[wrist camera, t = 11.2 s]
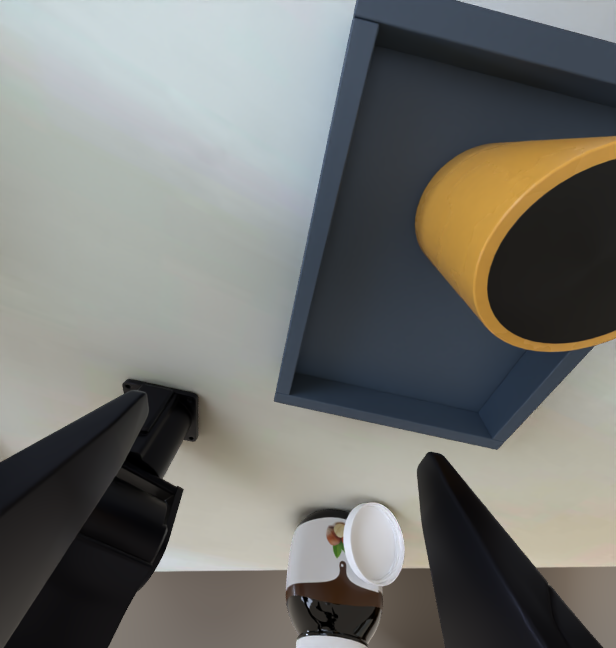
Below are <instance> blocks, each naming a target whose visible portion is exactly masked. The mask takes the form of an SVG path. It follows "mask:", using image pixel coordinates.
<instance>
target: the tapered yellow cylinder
mask: <svg viewBox="0 0 616 648" xmlns="http://www.w3.org/2000/svg"><path fill="white" fill-rule="evenodd" d="M415 233H416V237H417V241H418V244H419V246H420V248H421V250H422V252H423V253H424V254H425V255H426V257H427V258H428V259H429V260H430V261H431V263H432V264H433V265H434V266H435V267H436V269H437V270H438V271H439V272H440V273H441V274H442V276H443V277H444V278H445V279H446V280H447V282H448V283H449V284H450V285H451V286H452V287H453V289H454V290H455V291H456V292H457V293H458V295H459V296H460V297H461V298H462V299H463V301H464V302H465V303H466V304H467V305H468V306H469V308H470V309H471V310H472V311H473V312H474V314H475V315H476V316H477V317H478V318H479V319H480V321H481V322H482V323H483V324H484V325H485V327H486V328H487V329H488V330H489V331H490V332H491V333H492V334H494V335H495V336H496V337H498V338H499V339H501V340H502V341H504V342H506V343H508V344H511V345H513V346H516V347H519V348H523V349H526V350H532V351H540V352H563V351H571V350H578V349H582V348H587V347H591V346H595V345H598V344H601V343H605V342H608V341H610V340H613V339H615V338H616V136H608V137H590V138H571V139H553V140H535V141H516V142H498V143H489V144H483V145H480V146H476V147H473V148H471V149H469V150H466V151H464V152H463V153H461V154H459V155H457V156H456V157H454V158H453V159H452V160H450V161H449V162H448V163H446V164H445V165H444V166H443V167H442V168H441V169H440V170H439V171H438V172H437V173H436V174H435V175H434V177H433V178H432V179H431V181H430V182H429V183H428V185H427V187H426V188H425V190H424V192H423V194H422V196H421V198H420V201H419V204H418V207H417V211H416V216H415Z"/></svg>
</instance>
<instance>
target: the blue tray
mask: <svg viewBox="0 0 616 648" xmlns="http://www.w3.org/2000/svg"><path fill="white" fill-rule="evenodd" d="M608 136H616V43H612V42H609V41H605V40H601V39H597V38H594V37H590V36H586V35H583V34H579V33H575V32H571V31H568V30H564V29H560V28H557V27H553V26H549V25H545V24H542V23H538V22H534V21H531V20H527V19H523V18H519V17H516V16H512V15H508V14H505V13H501V12H497V11H493V10H490V9H486V8H482V7H479V6H475V5H471V4H467V3H464V2H460V1H456V0H356V5H355V10H354V16H353V20H352V25H351V30H350V34H349V39H348V44H347V49H346V54H345V59H344V63H343V68H342V73H341V78H340V83H339V88H338V93H337V97H336V102H335V107H334V112H333V117H332V122H331V126H330V131H329V136H328V141H327V146H326V151H325V156H324V160H323V165H322V170H321V175H320V180H319V185H318V189H317V194H316V199H315V204H314V209H313V214H312V219H311V223H310V228H309V233H308V238H307V243H306V248H305V252H304V257H303V262H302V267H301V272H300V277H299V281H298V286H297V291H296V296H295V301H294V306H293V311H292V315H291V320H290V325H289V330H288V335H287V340H286V344H285V349H284V354H283V359H282V364H281V369H280V374H279V378H278V383H277V388H276V393H275V398H274V402H278V403H283V404H287V405H292V406H297V407H301V408H306V409H311V410H315V411H320V412H325V413H329V414H334V415H338V416H343V417H348V418H352V419H357V420H362V421H366V422H371V423H375V424H380V425H385V426H389V427H394V428H399V429H403V430H408V431H413V432H417V433H422V434H426V435H431V436H436V437H440V438H445V439H450V440H454V441H459V442H463V443H468V444H473V445H477V446H482V447H487V448H491V449H496V450H497V449H498V448H499V447H500V446H501V445H502V444H503V443H504V441H506V440H507V439H508V438H509V437H510V436H511V435H512V434H513V433H514V432H515V430H516V429H517V428H518V427H519V426H520V425H521V424H522V423H523V422H524V421H525V420H526V419H527V418H528V417H529V416H530V414H531V413H532V412H533V411H534V410H535V409H536V408H537V407H538V406H539V405H540V404H541V403H542V402H543V401H544V400H545V398H546V397H547V396H548V395H549V394H550V393H551V392H552V391H553V390H554V389H555V388H556V387H557V386H558V385H559V384H560V383H561V381H562V380H563V379H564V378H565V377H566V376H567V375H568V374H569V373H570V372H571V371H572V370H573V369H574V368H575V367H576V365H577V364H578V363H579V362H580V361H581V360H582V359H583V358H584V357H585V356H586V355H587V354H588V353H589V352H590V351H591V349H592V348H593V347H594V346H591V347H587V348H582V349H578V350H571V351H563V352H540V351H532V350H526V349H523V348H519V347H516V346H513V345H511V344H508V343H506V342H504V341H502V340H501V339H499V338H498V337H496V336H495V335H494V334H492V333H491V332H490V331H489V330H488V329H487V328H486V327H485V325H484V324H483V323H482V322H481V321H480V319H479V318H478V317H477V316H476V315H475V314H474V312H473V311H472V310H471V309H470V308H469V306H468V305H467V304H466V303H465V302H464V301H463V299H462V298H461V297H460V296H459V295H458V293H457V292H456V291H455V290H454V289H453V287H452V286H451V285H450V284H449V283H448V282H447V280H446V279H445V278H444V277H443V276H442V274H441V273H440V272H439V271H438V270H437V269H436V267H435V266H434V265H433V264H432V263H431V261H430V260H429V259H428V258H427V257H426V255H425V254H424V253H423V252H422V250H421V248H420V246H419V244H418V241H417V237H416V233H415V216H416V211H417V207H418V204H419V201H420V198H421V196H422V194H423V192H424V190H425V188H426V187H427V185H428V183H429V182H430V181H431V179H432V178H433V177H434V175H435V174H436V173H437V172H438V171H439V170H440V169H441V168H442V167H443V166H444V165H445V164H446V163H448V162H449V161H450V160H452V159H453V158H454V157H456V156H457V155H459V154H461V153H463V152H464V151H466V150H469V149H471V148H473V147H476V146H480V145H483V144H489V143H498V142H516V141H535V140H553V139H571V138H590V137H608Z"/></svg>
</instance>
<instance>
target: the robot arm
mask: <svg viewBox="0 0 616 648" xmlns="http://www.w3.org/2000/svg"><path fill="white" fill-rule="evenodd" d="M123 391H124V394H123V395H121V396H119V397H118V398H116V399H114V400H112V401H110V402H108V403H107V404H105V405H103V406H101V407H99V408H98V409H96V410H94V411H92V412H90V413H89V414H87V415H85V416H83V417H81V418H80V419H78V420H76V421H74V422H72V423H71V424H69V425H67V426H65V427H63V428H62V429H60V430H58V431H56V432H54V433H53V434H51V435H49V436H47V437H45V438H43V439H42V440H40V441H38V442H36V443H34V444H33V445H31V446H29V447H27V448H25V449H24V450H22V451H20V452H18V453H16V454H15V455H13V456H11V457H9V458H7V459H6V460H4V461H2V462H0V648H108V646H109V644H110V642H111V640H112V638H113V636H114V634H115V632H116V630H117V628H118V626H119V624H120V622H121V620H122V618H123V616H124V614H125V612H126V610H127V608H128V606H129V604H130V603H131V601H132V599H133V597H134V596H135V594H136V592H137V591H139V590H140V589H141V588H142V587H143V586H144V585H145V583H146V582H147V581H148V580H149V578H150V577H151V575H152V574H153V572H154V571H155V569H156V567H157V566H158V564H159V562H160V560H161V558H162V556H163V554H164V552H165V549H166V547H167V544H168V541H169V538H170V535H171V531H172V528H173V524H174V521H175V517H176V514H177V510H178V507H179V504H180V500H181V497H182V493H183V489H182V488H181V487H179V486H177V487H176V486H174V485H172V484H170V483H169V482H167V481H165V480H163V477H164V475H165V473H166V472H167V470H168V468H169V466H170V464H171V462H172V460H173V458H174V456H175V455H176V453H177V451H178V449H179V447H180V445H181V443H182V441H183V440H187V441H192V442H194V441H196V440H197V437H198V396H197V395H196V394H195V393H192V392H187V391H182V390H178V389H173V388H169V387H164V386H159V385H155V384H150V383H145V382H141V381H136V380H131V379H127V380H126V381H125V382H124V383H123ZM417 479H418V490H419V501H420V512H421V521H422V528H423V534H424V539H425V545H426V550H427V555H428V560H429V566H430V571H431V576H432V581H433V587H434V592H435V597H436V602H437V607H438V613H439V618H440V623H441V628H442V633H443V639H444V644H445V648H603V647H602V646H601V645H600V643H599V642H598V641H597V640H596V639H595V638H594V637H593V635H592V634H590V632H589V631H588V630H587V629H586V627H585V626H584V625H583V624H582V623H581V621H580V620H579V619H578V618H577V617H576V616H575V614H574V613H573V612H572V611H571V610H570V608H569V607H568V606H567V605H566V604H565V603H564V601H563V600H562V599H561V598H560V596H559V595H558V594H557V593H556V592H555V591H554V589H553V588H552V587H551V586H550V585H548V582H547V581H546V580H545V578H544V577H543V576H542V575H541V574H540V572H539V571H538V570H537V569H536V567H535V566H534V565H533V564H532V563H531V561H530V560H529V559H528V558H527V556H526V555H525V554H524V553H523V552H522V550H521V549H520V548H519V547H518V546H517V544H516V543H515V542H514V541H513V539H512V538H511V537H510V536H509V535H508V533H507V532H506V531H505V530H504V529H503V527H502V526H501V525H500V524H499V522H498V521H497V520H496V519H495V518H494V516H493V515H492V514H491V513H490V512H489V510H488V509H487V508H486V507H485V505H484V504H483V503H482V502H481V501H480V499H479V498H478V497H477V496H476V495H475V493H474V492H473V491H472V490H471V488H470V487H469V486H468V485H467V484H466V482H465V481H464V480H463V479H462V478H461V476H460V475H459V474H458V473H457V471H456V470H455V469H454V468H453V467H452V465H451V464H450V463H449V462H448V460H447V459H446V458H445V457H444V456H443V455H442V454H439V453H434V452H428V453H427V454H426V456H425V457H424V458H423V460H422V461H421V463H420V464H419V466H418V468H417Z"/></svg>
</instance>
